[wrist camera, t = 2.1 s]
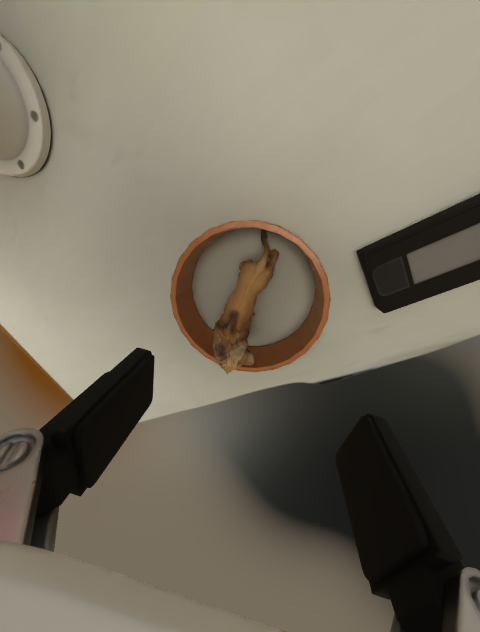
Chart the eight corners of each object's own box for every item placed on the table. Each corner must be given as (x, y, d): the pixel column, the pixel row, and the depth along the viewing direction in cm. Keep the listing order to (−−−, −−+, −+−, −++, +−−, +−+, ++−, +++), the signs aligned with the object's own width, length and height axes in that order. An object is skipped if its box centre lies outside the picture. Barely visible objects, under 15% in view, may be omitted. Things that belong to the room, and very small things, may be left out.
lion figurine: (256, 341, 30) (249, 385, 22) (220, 332, 30) (200, 372, 22) (285, 234, 24) (290, 240, 15) (240, 224, 24) (221, 225, 16)
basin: (181, 331, 31) (165, 349, 27) (196, 205, 24) (178, 200, 19) (293, 362, 30) (296, 387, 26) (344, 242, 23) (361, 246, 18)
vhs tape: (529, 250, 21) (553, 253, 19) (375, 307, 25) (383, 314, 24) (523, 173, 19) (550, 167, 17) (356, 250, 23) (362, 253, 21)
